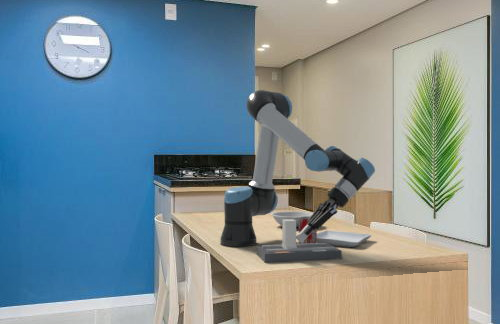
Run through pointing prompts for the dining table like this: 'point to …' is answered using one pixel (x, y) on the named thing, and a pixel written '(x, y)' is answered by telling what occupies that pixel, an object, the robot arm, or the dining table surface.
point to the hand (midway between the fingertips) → (298, 240)
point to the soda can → (313, 236)
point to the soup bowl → (290, 216)
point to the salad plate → (341, 238)
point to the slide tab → (289, 234)
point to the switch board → (298, 252)
